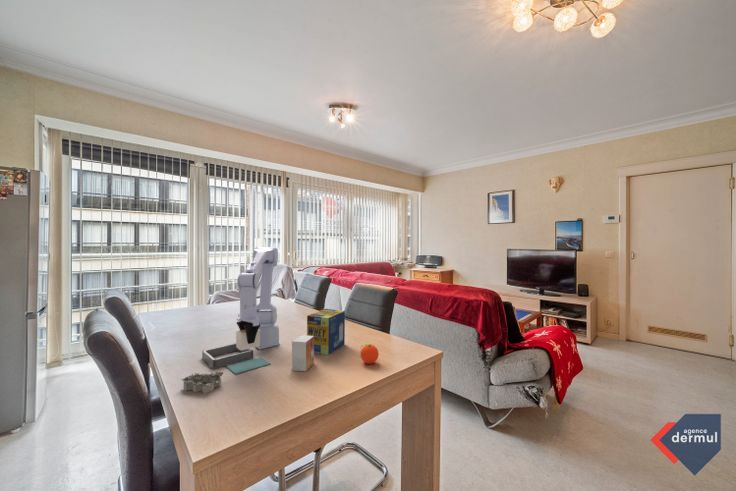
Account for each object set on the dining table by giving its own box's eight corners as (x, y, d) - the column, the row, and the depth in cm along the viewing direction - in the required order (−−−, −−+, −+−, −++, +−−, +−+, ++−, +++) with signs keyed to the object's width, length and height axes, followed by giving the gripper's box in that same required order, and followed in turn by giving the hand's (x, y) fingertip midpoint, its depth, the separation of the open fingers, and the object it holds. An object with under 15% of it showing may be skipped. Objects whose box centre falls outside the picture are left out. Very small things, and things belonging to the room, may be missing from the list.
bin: (239, 349, 127) (239, 342, 127) (253, 357, 117) (253, 350, 117) (202, 358, 117) (202, 350, 117) (213, 368, 107) (213, 360, 107)
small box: (305, 372, 104) (306, 342, 104) (291, 370, 105) (291, 341, 105) (314, 363, 112) (314, 335, 112) (300, 362, 113) (300, 334, 113)
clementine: (354, 363, 112) (354, 344, 112) (365, 357, 118) (365, 339, 118) (371, 368, 107) (371, 348, 107) (382, 362, 113) (382, 343, 113)
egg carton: (225, 384, 95) (225, 371, 95) (206, 395, 88) (207, 382, 88) (198, 380, 98) (198, 367, 98) (178, 390, 91) (178, 377, 91)
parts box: (236, 347, 109) (236, 330, 109) (254, 343, 114) (254, 327, 114) (240, 350, 106) (240, 333, 106) (259, 346, 110) (259, 329, 110)
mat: (260, 357, 117) (260, 356, 117) (270, 364, 111) (270, 363, 111) (226, 367, 108) (226, 365, 108) (235, 374, 102) (235, 373, 102)
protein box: (306, 352, 123) (306, 315, 123) (325, 341, 137) (325, 308, 137) (328, 356, 119) (328, 317, 119) (345, 344, 134) (345, 310, 134)
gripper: (230, 303, 112) (230, 339, 112) (245, 309, 102) (245, 348, 102) (248, 301, 117) (248, 335, 117) (264, 306, 107) (264, 344, 107)
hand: (248, 341), depth 110 cm, fingers closed on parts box, 4 cm apart
